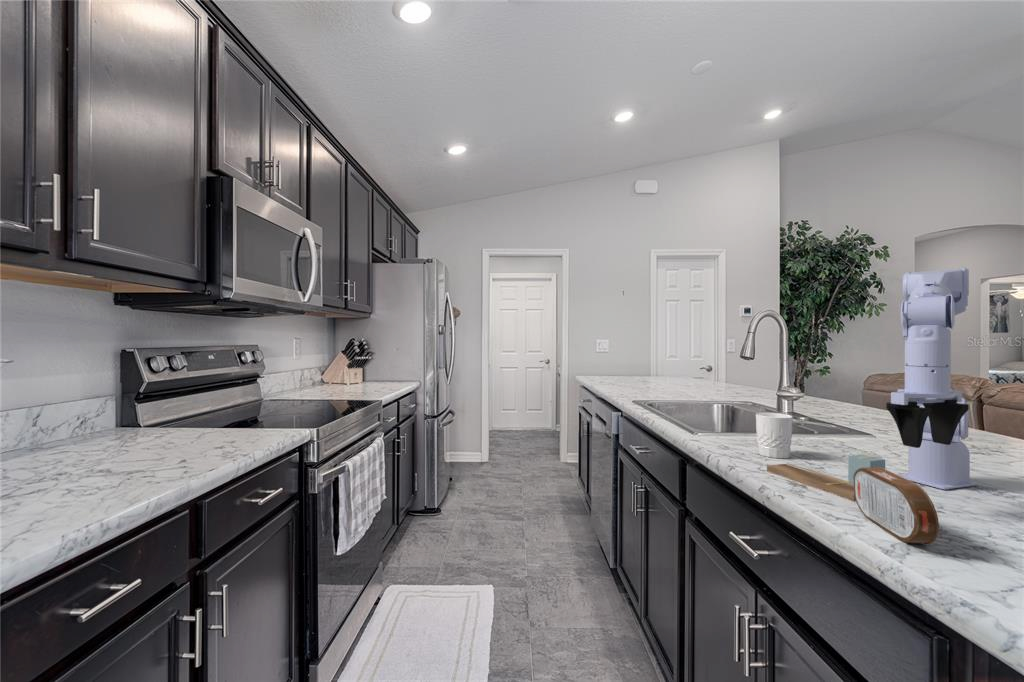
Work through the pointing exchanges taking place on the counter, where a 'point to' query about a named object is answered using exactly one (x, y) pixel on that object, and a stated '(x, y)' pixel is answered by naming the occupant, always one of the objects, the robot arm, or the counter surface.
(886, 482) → the tin
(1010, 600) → the counter surface
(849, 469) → the block
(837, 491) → the walnut board
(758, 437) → the white cup
